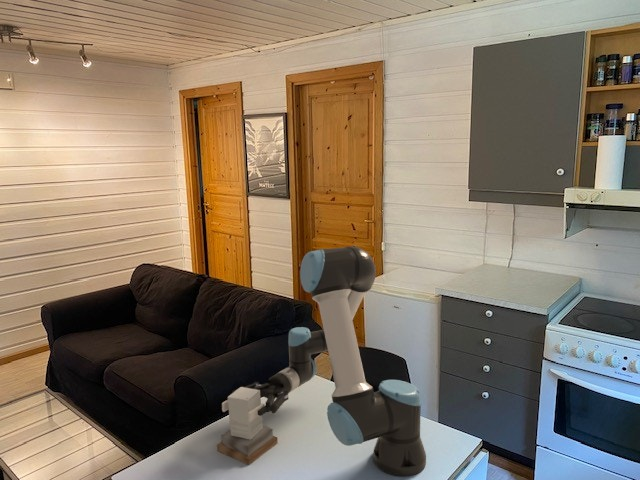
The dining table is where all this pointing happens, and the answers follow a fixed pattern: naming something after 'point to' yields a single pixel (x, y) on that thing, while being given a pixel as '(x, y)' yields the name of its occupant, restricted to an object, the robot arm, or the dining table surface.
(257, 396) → the supplement box
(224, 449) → the tower plinth
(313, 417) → the dining table surface
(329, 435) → the dining table surface
